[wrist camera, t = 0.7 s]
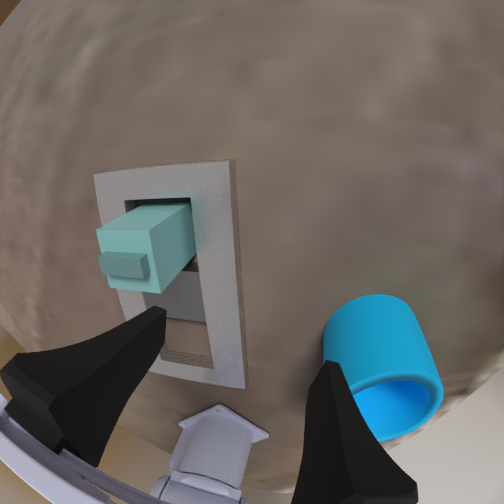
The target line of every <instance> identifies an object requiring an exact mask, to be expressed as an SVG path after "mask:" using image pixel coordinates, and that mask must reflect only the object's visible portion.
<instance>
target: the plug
mask: <svg viewBox="0 0 504 504" xmlns="http://www.w3.org/2000/svg"><path fill="white" fill-rule="evenodd" d="M96 232H97V237H98V241H99V246H100V250H101V255H99V256H98V259H99V263H100V267H101V271H102V274H103V275H107V278H108V281H109V285H110V287H112V288H119V289H126V290H134V291H142V292H151V293H159V294H161V293H162V292H163V291H164V289H165V288H166V287H167V286H168V285H169V284H170V283H171V281H172V280H173V279H174V278H175V277H176V276H177V275H178V273H179V272H180V271H181V270H182V269H183V268H184V267H185V265H186V264H187V263H188V262H189V261H190V260H191V259H192V258H193V256H194V255H195V254H196V250H195V241H194V233H193V224H192V214H191V205H190V203H160V204H143V205H141V206H139V207H137V208H136V209H134V210H132V211H130V212H128V213H126V214H124V215H122V216H120V217H119V218H117V219H115V220H113V221H111V222H109V223H108V224H106V225H104V226H102V227H101V228H99V229H97V230H96Z"/></svg>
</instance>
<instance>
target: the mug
mask: <svg viewBox="0 0 504 504" xmlns="http://www.w3.org/2000/svg"><path fill="white" fill-rule="evenodd" d="M323 341H324V353H323V364H324V363H325V361H326V360H330V361H334V362H338V363H339V364H340V366H341V368H342V371H343V373H344V376H345V378H346V381H347V383H348V386H349V388H350V390H351V393H352V395H353V397H354V399H355V402H356V404H357V406H358V408H359V410H360V412H361V414H362V416H363V418H364V420H365V422H366V423H367V425H368V427H369V428H370V430H371V431H372V433H373V435H374V436H375V438H376V439H377V440H378V442H381V441H387V440H390V439H393V438H397V437H400V436H402V435H405V434H407V433H409V432H411V431H413V430H415V429H417V428H418V427H419V426H421V425H422V424H423V423H425V422H427V421H428V420H429V419H430V418H431V417H432V415H433V414H434V413H435V412H436V411H437V410H438V408H439V406H440V404H441V401H442V399H443V386H442V383H441V380H440V377H439V374H438V372H437V369H436V366H435V363H434V361H433V358H432V356H431V353H430V350H429V348H428V345H427V343H426V340H425V338H424V336H423V333H422V331H421V328H420V326H419V324H418V321H417V319H416V317H415V315H414V313H413V311H412V310H411V309H410V307H409V306H408V305H407V303H405V302H403V301H402V300H400V299H398V298H396V297H394V296H388V295H383V294H377V295H367V296H363V297H360V298H358V299H355V300H352V301H350V302H348V303H347V304H345V305H344V306H343V307H341V308H340V309H338V310H337V311H336V312H335V313H334V315H333V316H332V317H331V318H330V320H329V321H328V322H327V325H326V328H325V331H324V334H323Z"/></svg>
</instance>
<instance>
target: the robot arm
mask: <svg viewBox="0 0 504 504" xmlns="http://www.w3.org/2000/svg"><path fill="white" fill-rule="evenodd" d="M166 315H167V310H166V309H163V308H161V307H158V306H155V305H154V306H152V307H150V308H149V309H147V310H145V311H144V312H142V313H140V314H139V315H137V316H135V317H133V318H132V319H130V320H128V321H126V322H124V323H123V324H121V325H119V326H117V327H115V328H113V329H111V330H109V331H107V332H105V333H103V334H101V335H98V336H96V337H94V338H91V339H89V340H86V341H83V342H80V343H77V344H73V345H70V346H66V347H62V348H58V349H53V350H48V351H41V352H31V353H17V354H16V355H15V356H14V357H13V358H12V359H11V360H10V361H9V362H8V363H7V364H6V365H5V366H4V367H3V368H2V369H1V370H0V376H1V379H2V380H3V382H4V384H5V386H6V388H7V389H8V391H9V393H10V394H11V396H12V400H11V401H10V402H9V401H8V400H7V399H6V397H5V396H4V395H3V394H2V393H1V392H0V459H1V460H2V461H3V462H4V463H5V464H6V465H7V466H8V467H9V468H10V469H11V470H12V471H13V472H15V473H16V474H17V475H18V476H19V477H20V478H21V479H23V480H24V481H25V482H26V483H27V484H29V485H30V486H31V487H32V488H33V489H35V490H36V491H37V492H38V493H40V494H41V495H42V496H44V497H45V498H46V499H48V500H49V501H51V502H52V503H53V504H116V503H114V502H113V501H112V500H111V499H110V498H109V496H108V495H107V494H105V493H103V492H102V491H100V490H98V489H97V488H96V487H94V486H93V485H95V486H97V487H98V488H100V489H102V490H104V491H105V492H108V493H110V494H111V495H113V496H115V497H117V498H119V499H121V500H123V501H125V502H127V503H129V504H249V503H248V502H247V501H246V499H245V498H242V497H240V496H241V493H242V491H241V490H240V487H241V483H242V479H243V476H244V472H245V468H246V464H247V461H248V457H249V453H250V449H251V445H252V443H254V442H257V441H260V440H263V439H266V438H268V437H269V434H268V433H267V432H265V431H263V430H262V429H260V428H258V427H257V426H255V425H253V424H252V423H250V422H248V421H247V420H245V419H244V418H242V417H240V416H239V415H237V414H236V413H234V412H233V411H231V410H230V409H228V408H227V407H225V406H224V405H221V404H218V405H216V406H214V407H211V408H209V409H207V410H205V411H203V412H201V413H198V414H196V415H194V416H192V417H189V418H187V419H185V420H182V421H180V422H179V426H181V427H182V428H184V429H183V431H182V433H181V436H180V438H179V440H178V442H177V445H176V447H175V449H174V451H173V454H172V456H171V458H170V461H169V470H170V474H171V476H169V475H164V476H162V477H160V478H158V479H157V481H156V482H155V484H154V486H153V488H152V490H151V492H150V494H147V493H144V492H142V491H140V490H137V489H135V488H133V487H131V486H129V485H127V484H125V483H123V482H121V481H119V480H117V479H115V478H113V477H111V476H109V475H107V474H105V473H103V472H102V471H100V470H98V469H96V467H98V465H99V462H100V460H101V457H102V454H103V452H104V449H105V447H106V445H107V442H108V440H109V438H110V435H111V433H112V431H113V429H114V427H115V425H116V423H117V421H118V418H119V416H120V414H121V413H122V411H123V409H124V407H125V405H126V403H127V401H128V399H129V398H130V396H131V395H132V393H133V392H134V390H135V389H136V387H137V386H138V384H139V383H140V382H141V380H142V379H143V377H144V376H145V374H146V373H147V372H148V370H149V369H150V367H151V366H152V364H153V363H154V362H155V360H156V358H157V356H158V354H159V353H160V351H161V349H162V347H163V345H164V343H165V329H166ZM85 480H86V481H85ZM87 481H88V482H90V483H91V484H93V485H91V484H90V483H88V482H87ZM417 502H418V490H417V483H416V482H415V481H414V480H413V479H412V478H411V477H410V476H409V475H407V474H406V473H405V472H404V471H403V470H402V469H401V468H400V467H399V466H398V465H397V464H396V463H395V462H394V461H393V460H392V458H391V457H390V456H389V455H388V454H387V452H386V451H385V450H384V449H383V447H382V446H381V445H380V443H379V442H378V440H377V439H376V438H375V436H374V435H373V433H372V431H371V430H370V428H369V427H368V425H367V423H366V422H365V420H364V418H363V416H362V414H361V412H360V410H359V408H358V406H357V404H356V402H355V399H354V397H353V395H352V393H351V390H350V388H349V386H348V383H347V381H346V378H345V376H344V373H343V371H342V368H341V366H340V364H339V363H338V362H334V361H330V360H326V361H325V363H324V364H323V366H322V368H321V370H320V371H319V373H318V375H317V376H316V378H315V380H314V381H313V383H312V384H311V386H310V388H309V393H308V398H307V404H306V413H305V430H304V446H303V455H302V461H301V466H300V471H299V475H298V479H297V483H296V487H295V491H294V495H293V498H292V502H291V504H416V503H417Z"/></svg>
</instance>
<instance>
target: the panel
mask: <svg viewBox="0 0 504 504" xmlns="http://www.w3.org/2000/svg"><path fill="white" fill-rule="evenodd" d="M94 182H95V189H96V196H97V202H98V208H99V213H100V219H101V224H102V226H104V225H106V224H108V223H109V222H111V221H113V220H115V219H117V218H119V217H120V216H122V215H124V214H126V213H128V212H130V211H132V210H134V209H136V202H135V200H137V199H157V198H184V197H191V206H192V216H193V225H194V234H195V243H196V251H197V259H198V263H190V262H188V263H187V264H186V265H185V267H184V268H183V269H182V270H181V271H180V272H179V273H178V275H177V276H176V277H175V278H174V279H173V280H172V281H171V283H170V284H169V285H168V286H167V287H166V288H165V289H164V291H163V292H162V293H161V294H159V293H151V292H142V291H134V290H126V289H119V288H117V292H118V296H119V299H120V302H121V306H122V309H123V312H124V316H125V319H126V321H128V320H130V319H132V318H133V317H135V316H137V315H139V314H140V313H142V312H144V311H145V310H147V309H149V308H150V307H152V306H154V305H155V306H158V307H161V308H163V309H166V310H167V315H166V317H169V318H177V319H184V320H192V321H200V322H206V323H207V329H208V335H209V341H210V347H211V353H212V358H211V357H204V356H197V355H191V354H185V353H180V352H174V351H169V350H167V348H166V345H165V343H164V345H163V347H162V349H161V351H160V353H159V354H158V356H157V358H156V360H155V362H154V363H153V364H152V366H151V367H150V369H149V370H148V371H150V372H154V373H158V374H163V375H167V376H172V377H176V378H181V379H186V380H191V381H197V382H202V383H208V384H214V385H220V386H227V387H233V388H241V389H246V385H247V382H248V378H249V377H248V363H247V349H246V335H245V321H244V306H243V291H242V276H241V260H240V243H239V226H238V209H237V191H236V173H235V159H225V160H206V161H191V162H178V163H167V164H156V165H147V166H138V167H130V168H122V169H115V170H108V171H103V172H99V173H96V174H94Z"/></svg>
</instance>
